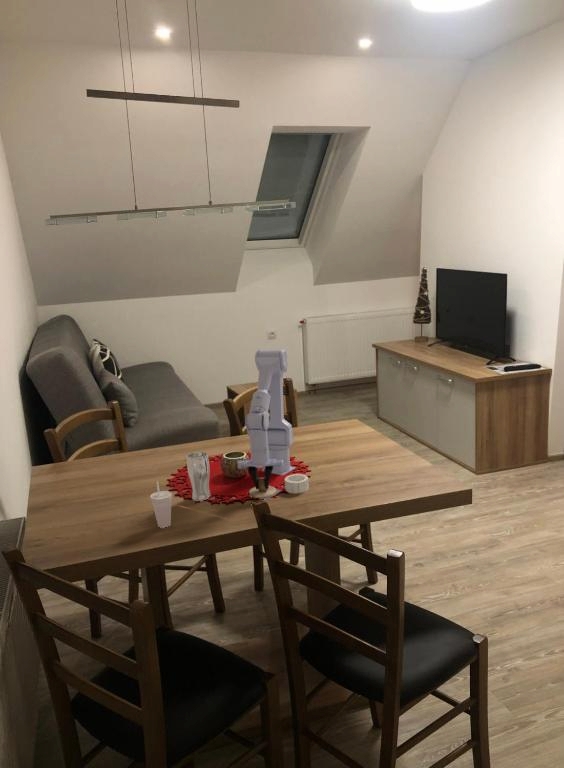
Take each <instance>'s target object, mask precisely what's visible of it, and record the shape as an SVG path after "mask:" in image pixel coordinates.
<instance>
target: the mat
mask: <svg viewBox="0 0 564 768" xmlns="http://www.w3.org/2000/svg"><path fill="white" fill-rule="evenodd" d="M275 489H276V488H275ZM280 492H283V490H281V489H278V488H277V489H276V493H275V494H274V495H273V496H274V497H275V496H276V495H277V494H279V493H280ZM273 496H271V497H267V498H260V499H264V500H263V501H264V502H266V501H267V500H269V499H271V498H272V497H273ZM260 499H259V500H260Z"/></svg>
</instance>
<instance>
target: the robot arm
mask: <svg viewBox="0 0 564 768" xmlns="http://www.w3.org/2000/svg"><path fill="white" fill-rule="evenodd" d="M254 361H255V365H256V368H257V371H258V378H257V379H258V380H257V390H256V391H254V392H253V394H252V398H251V403H250V408H249V413H247V414H246V416H245V422H244V423H245V424H244V425H245V429H246V431H247V436H248V437H249V445H250V446H249V448H250V459H246V460H238V462H237V468H238V469H243V468H244V469H245V468H246V469H247V468H248V470H247V472H248V474H249V476H250V477H251V479H252V481H253V484H254V487H256V489H258V478H259V468H260V469H261V472H264V478H265V481H266V489H268V488H269V486H270V481H271V480H270V479H271V475H272V474H275V475H279V476H284V475H286V474H288V473H290V472H292V471H294V470H296V467H295V466H291V460H290V459H291V458H290V447H291V446H292V445H293V442H294V432H293V426H292V424H291V423H290V422H288V421H287V420H286V419H285V414H284V390H283V387H284V386H283V385H284V384H283V377H284V374H285V373H286V372H288V355H287V352H286V351H285V349H283V348H281V349H257V351H256V352H255V356H254Z"/></svg>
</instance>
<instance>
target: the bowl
mask: <svg viewBox="0 0 564 768" xmlns="http://www.w3.org/2000/svg"><path fill="white" fill-rule="evenodd" d="M309 489H310V487H309V477H308V476H307V475H306V474H303V473H298V474H297V473H295V474H289V475H287V476H285V478H284V490H285V492H287V493H289V494H296V495H297V494H303V493H305V492H308V491H309Z"/></svg>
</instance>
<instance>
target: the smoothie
mask: <svg viewBox="0 0 564 768" xmlns="http://www.w3.org/2000/svg"><path fill="white" fill-rule="evenodd" d="M156 489H157V491H156V492H153V493H152V494H150V496H149V497H150V498H149V500H150V502H151V503H152V507H153V511H154V516H155V519H156V523H157V527H158V528H159V527H160V529H166V528H165V527H167V528H169V527H171V525H172V498H173V493H172V492H171V491H169V490H160V485H159V480H157V481H156ZM168 526H169V527H168Z"/></svg>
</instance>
